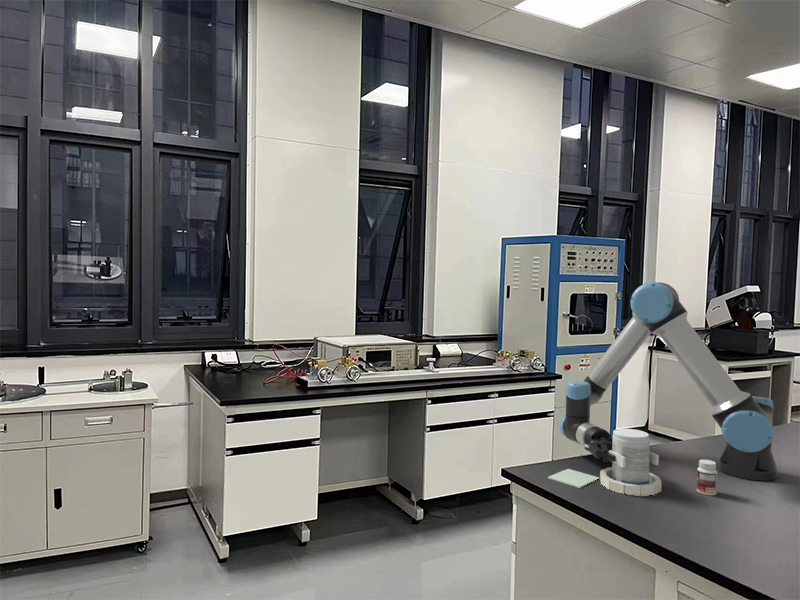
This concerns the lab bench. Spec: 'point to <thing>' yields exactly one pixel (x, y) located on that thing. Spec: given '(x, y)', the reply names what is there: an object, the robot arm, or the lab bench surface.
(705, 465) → the pill bottle
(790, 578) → the lab bench surface
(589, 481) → the rubber mat
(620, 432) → the supplement tub
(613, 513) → the lab bench surface
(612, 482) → the ring dish
